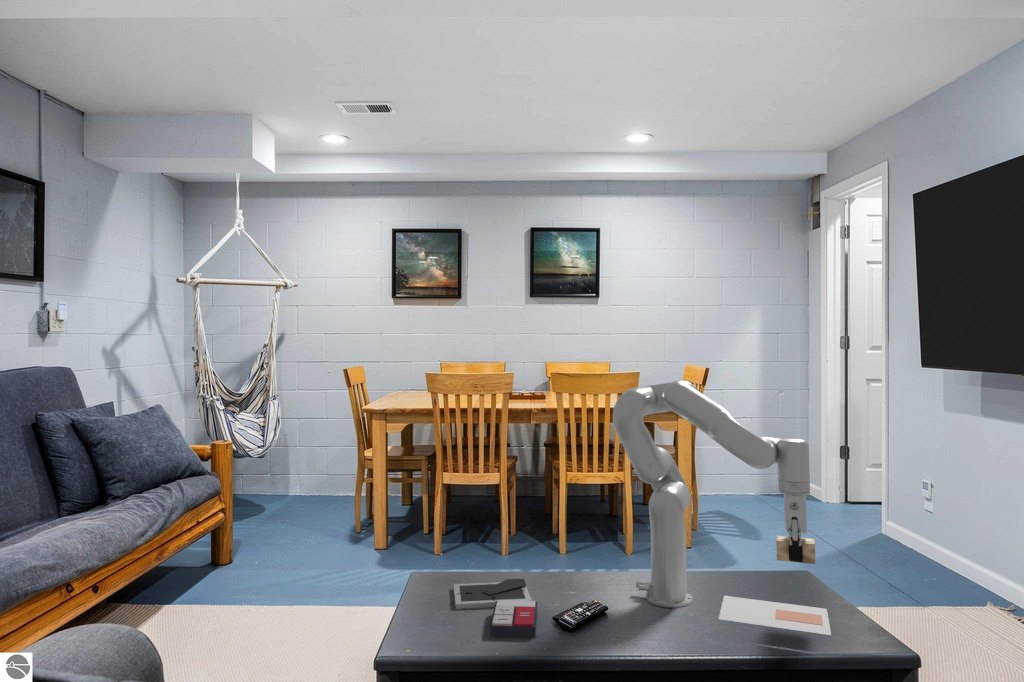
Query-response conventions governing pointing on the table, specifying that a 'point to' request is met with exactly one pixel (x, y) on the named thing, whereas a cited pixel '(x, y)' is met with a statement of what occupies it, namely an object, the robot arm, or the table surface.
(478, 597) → the picture frame
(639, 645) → the table surface
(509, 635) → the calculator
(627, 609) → the table surface
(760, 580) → the table surface
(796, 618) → the mat
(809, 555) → the card box
